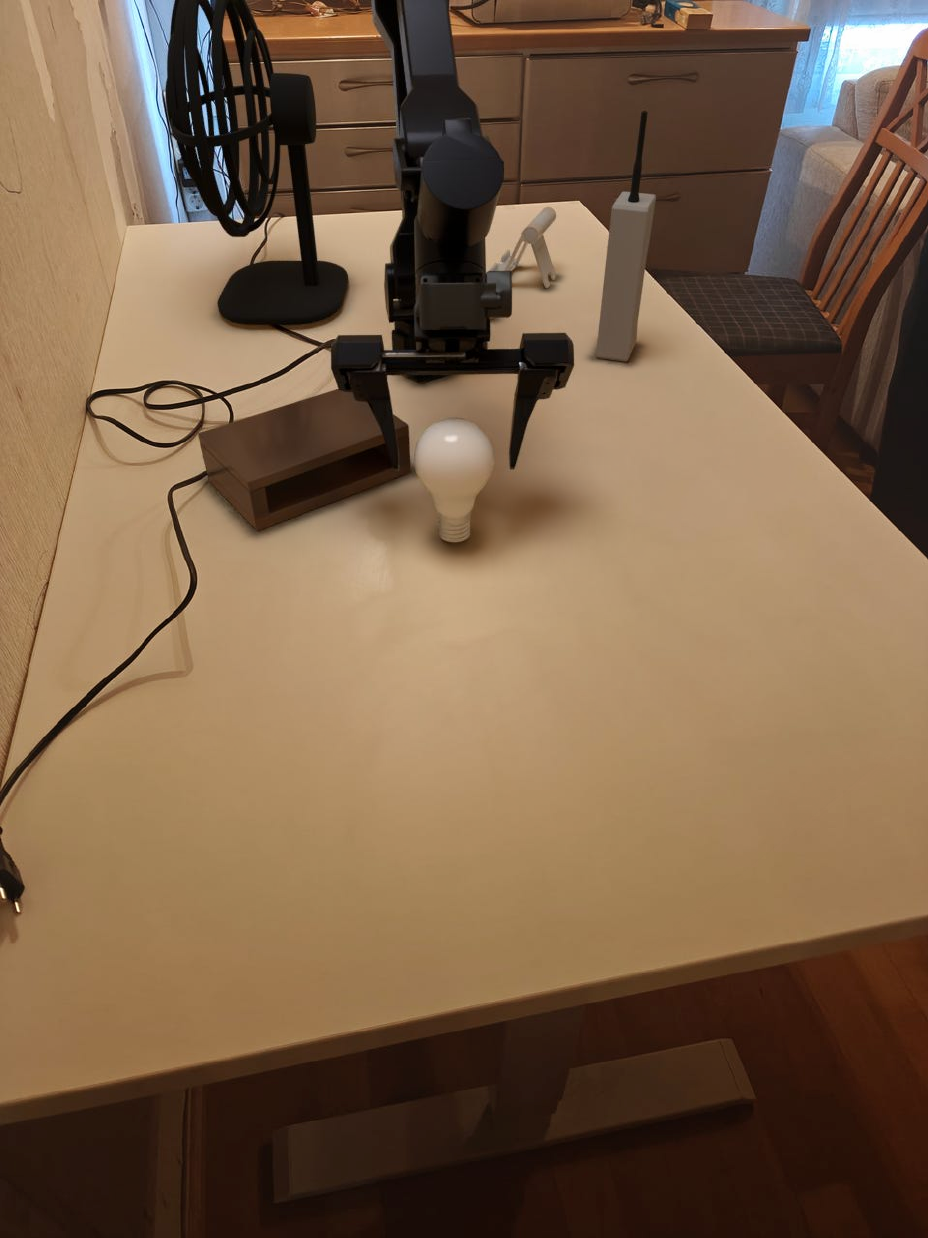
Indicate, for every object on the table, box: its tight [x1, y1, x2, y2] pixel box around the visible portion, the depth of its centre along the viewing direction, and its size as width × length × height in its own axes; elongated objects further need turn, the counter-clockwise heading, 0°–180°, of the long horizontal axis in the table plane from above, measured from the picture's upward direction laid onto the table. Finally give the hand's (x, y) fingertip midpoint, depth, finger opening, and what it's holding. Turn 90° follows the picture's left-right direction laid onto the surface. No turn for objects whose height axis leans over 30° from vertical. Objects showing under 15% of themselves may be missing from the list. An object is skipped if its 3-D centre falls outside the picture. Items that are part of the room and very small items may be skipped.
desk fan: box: [165, 0, 350, 326], centre depth 102 cm, size 27×18×35 cm, turn 0°
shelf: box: [197, 388, 412, 532], centre depth 80 cm, size 16×10×5 cm, turn 127°
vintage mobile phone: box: [595, 110, 657, 363], centre depth 93 cm, size 4×5×25 cm
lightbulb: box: [413, 417, 495, 543], centre depth 70 cm, size 6×6×11 cm
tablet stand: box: [488, 206, 557, 289], centre depth 116 cm, size 9×8×8 cm
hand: (454, 469), depth 69 cm, fingers open, 9 cm apart
